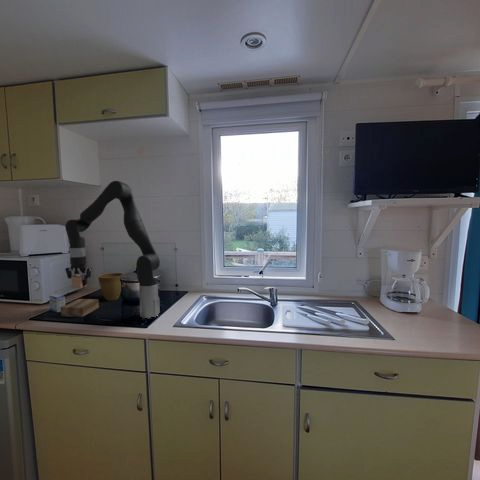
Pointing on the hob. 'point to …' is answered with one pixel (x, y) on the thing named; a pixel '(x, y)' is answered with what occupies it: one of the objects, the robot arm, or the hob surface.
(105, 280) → the plant pot
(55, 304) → the medicine box
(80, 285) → the terracotta block
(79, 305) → the walnut plinth
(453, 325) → the hob surface
